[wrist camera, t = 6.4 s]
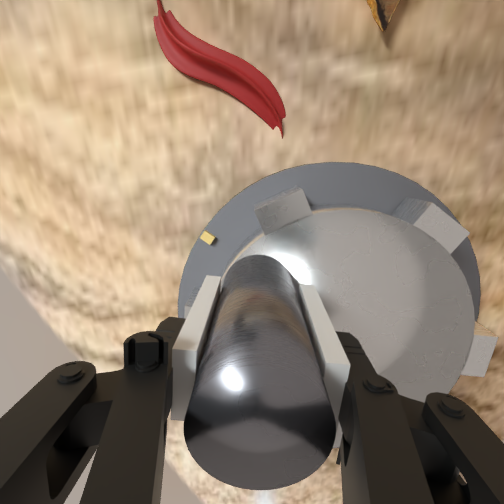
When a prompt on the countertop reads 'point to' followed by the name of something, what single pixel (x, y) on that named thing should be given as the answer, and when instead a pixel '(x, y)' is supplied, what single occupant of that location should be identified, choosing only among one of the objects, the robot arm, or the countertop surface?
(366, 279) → the tabbed dome lid
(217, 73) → the cayenne pepper
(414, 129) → the countertop surface
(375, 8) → the shard
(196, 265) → the base plate
